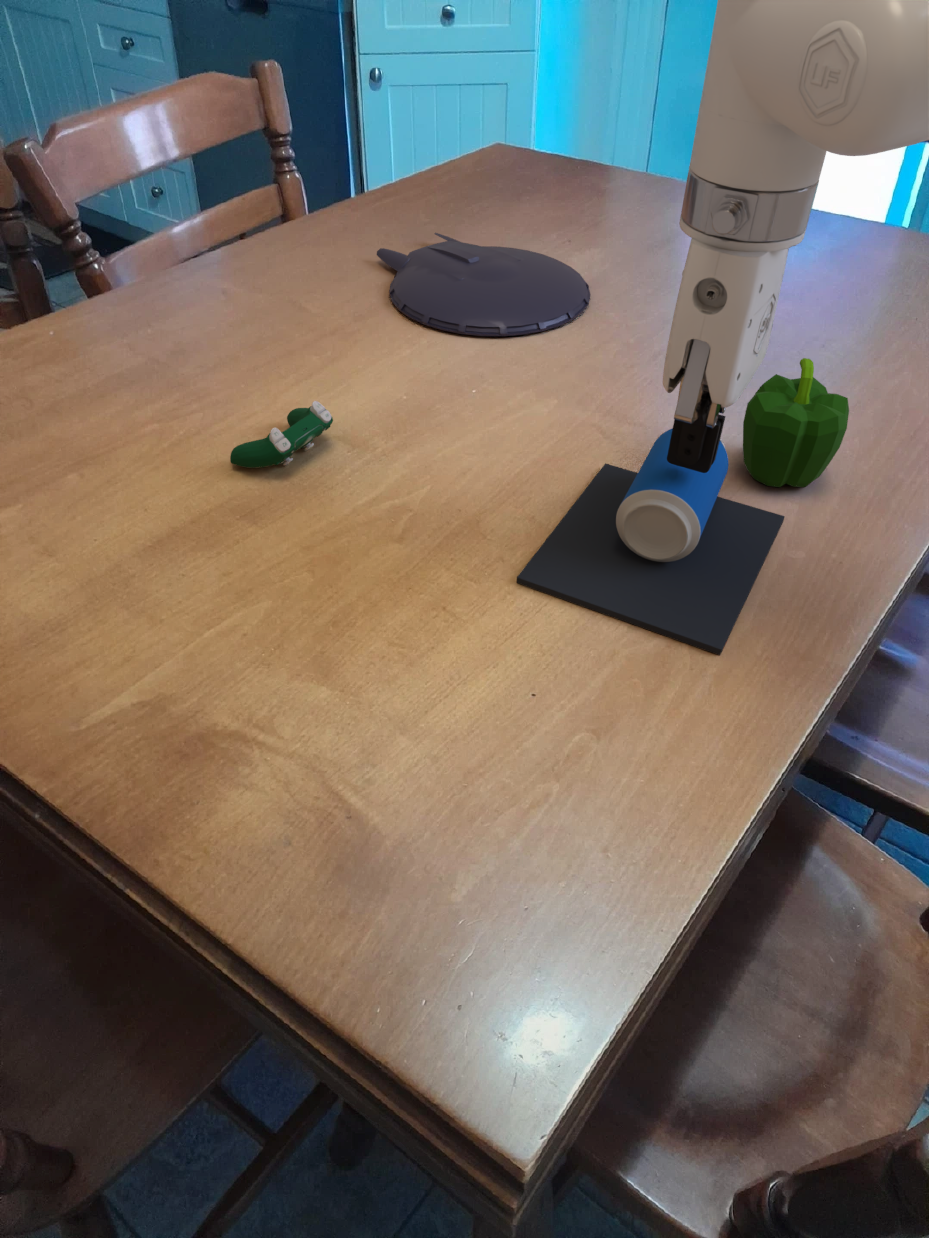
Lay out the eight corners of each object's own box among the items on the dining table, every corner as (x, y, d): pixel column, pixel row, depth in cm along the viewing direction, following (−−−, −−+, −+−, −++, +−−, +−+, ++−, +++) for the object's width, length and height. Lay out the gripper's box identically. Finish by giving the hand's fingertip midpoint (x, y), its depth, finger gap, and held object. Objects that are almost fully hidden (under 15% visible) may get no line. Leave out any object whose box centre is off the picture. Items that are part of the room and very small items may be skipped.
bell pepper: (811, 512, 76) (847, 407, 69) (719, 481, 79) (744, 378, 72) (839, 466, 81) (875, 364, 74) (751, 439, 84) (778, 338, 78)
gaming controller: (250, 491, 80) (281, 466, 76) (222, 456, 79) (252, 429, 75) (316, 445, 86) (348, 419, 81) (291, 412, 85) (322, 384, 81)
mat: (783, 521, 75) (784, 516, 75) (719, 655, 63) (721, 649, 63) (604, 468, 81) (605, 463, 80) (516, 583, 69) (516, 577, 68)
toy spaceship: (331, 275, 111) (328, 249, 109) (479, 232, 122) (479, 207, 120) (478, 359, 95) (479, 330, 93) (632, 300, 107) (636, 273, 104)
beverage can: (692, 576, 68) (725, 493, 77) (703, 505, 64) (737, 425, 72) (610, 557, 71) (651, 479, 79) (615, 488, 66) (658, 412, 74)
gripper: (777, 258, 48) (709, 531, 61) (835, 180, 58) (766, 430, 70) (644, 232, 51) (605, 499, 63) (721, 162, 60) (674, 406, 73)
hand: (690, 462), depth 67 cm, fingers closed
